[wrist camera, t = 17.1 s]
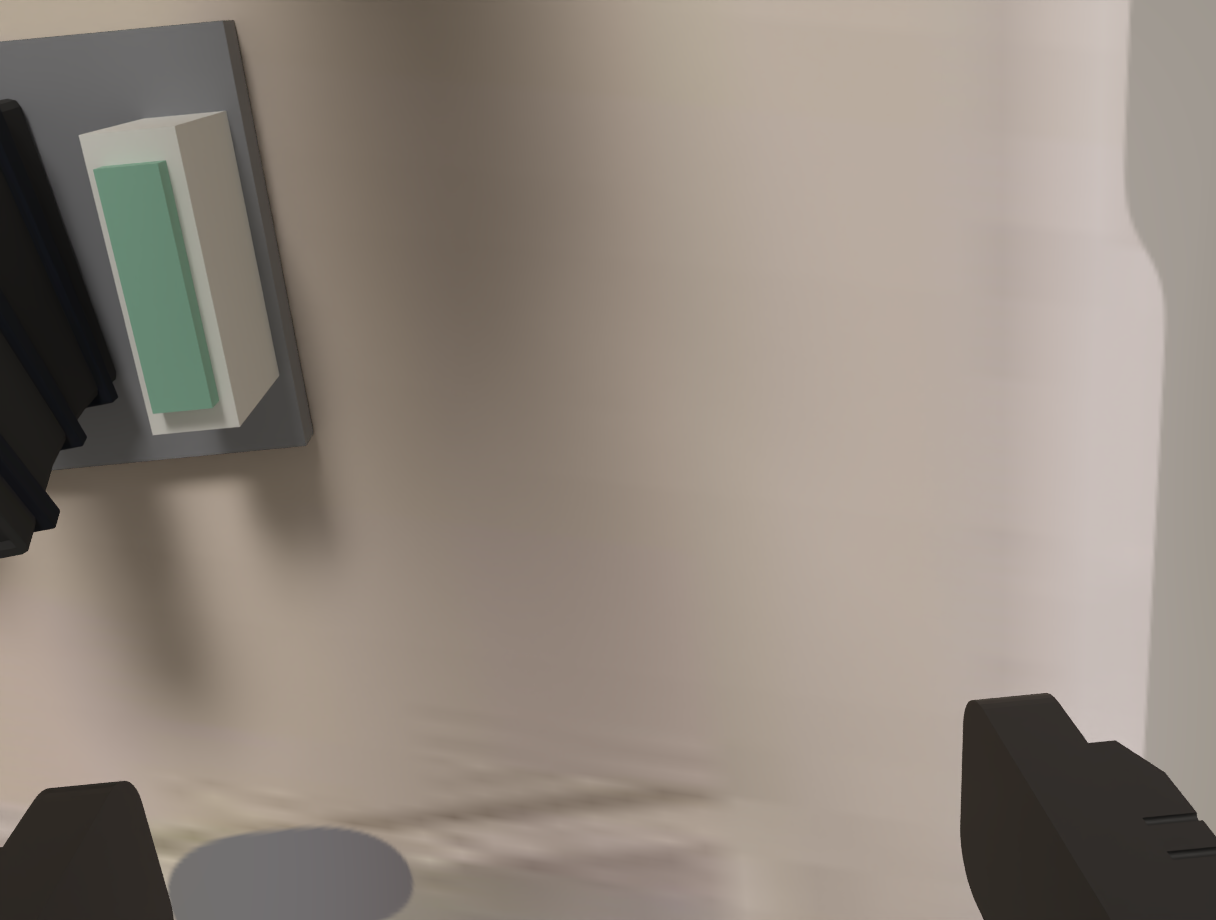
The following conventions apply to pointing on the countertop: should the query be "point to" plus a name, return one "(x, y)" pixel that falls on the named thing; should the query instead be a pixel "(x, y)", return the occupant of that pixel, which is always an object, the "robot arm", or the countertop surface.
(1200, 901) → the robot arm
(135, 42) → the mounting plate
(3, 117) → the magazine
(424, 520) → the countertop surface
